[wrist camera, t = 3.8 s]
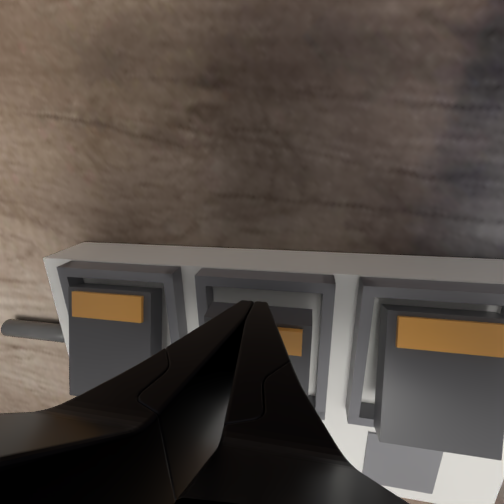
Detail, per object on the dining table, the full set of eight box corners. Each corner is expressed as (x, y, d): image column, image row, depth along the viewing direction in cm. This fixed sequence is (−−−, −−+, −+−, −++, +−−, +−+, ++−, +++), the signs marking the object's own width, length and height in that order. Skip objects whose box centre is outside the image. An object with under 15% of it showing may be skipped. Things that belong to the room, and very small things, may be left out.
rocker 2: (373, 424, 11) (380, 445, 10) (380, 303, 10) (389, 311, 9) (484, 440, 10) (504, 464, 9) (495, 311, 10) (518, 321, 9)
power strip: (39, 392, 20) (-11, 436, 17) (-10, 238, 16) (-84, 257, 13) (462, 458, 15) (501, 535, 12) (521, 260, 12) (598, 298, 8)
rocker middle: (222, 387, 12) (215, 409, 12) (212, 301, 11) (202, 319, 10) (306, 398, 12) (306, 423, 11) (312, 308, 10) (312, 329, 9)
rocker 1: (85, 383, 13) (66, 397, 12) (85, 282, 12) (64, 287, 11) (161, 394, 12) (147, 409, 11) (162, 288, 12) (148, 293, 11)
